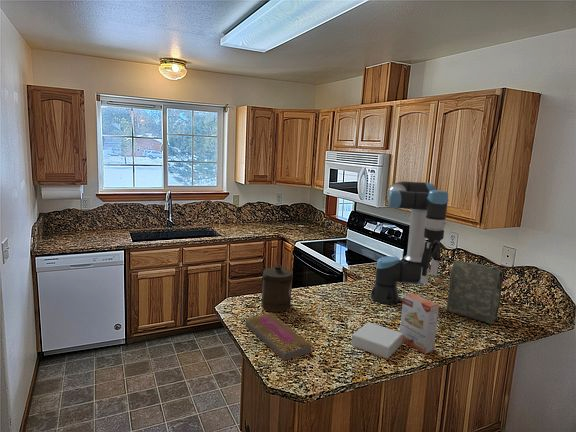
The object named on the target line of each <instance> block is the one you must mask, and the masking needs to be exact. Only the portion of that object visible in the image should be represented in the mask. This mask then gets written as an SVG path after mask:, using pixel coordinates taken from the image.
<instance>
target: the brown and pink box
mask: <svg viewBox="0 0 576 432" xmlns="http://www.w3.org/2000/svg"><path fill="white" fill-rule="evenodd" d="M243 320H245V326H246V327H247V328H248V329H249V330H251V332H253V334H254V335H256V336H257V337H258V338H259V339H260V340H261V341H262V342H263V343H264V344H266V345H267V346H268V347H269V348H270V349H271V350H272V351H273V352H275V353H276V355H278V356H279V357H280V358H281V359H282V360H283V361H286V360H287V361H288V360H290V359H294V358H296V357H301V356H304V355H306V354H310V353H312V348H313V347H315V344H313V343H311V341H309V340H307V339H306V338H305V337H303V336H302V334H300V333H298V332H297V331H296V330H294V329H293V328H292V327H291V326H289V325H288V324H286V323H285V322H284V321H282V320H281V318H278V317H277V316H276V315H275V314H274V313H272V311H269V312H268V313H263V314H260V315H259V314H257V315H254V316H251V317H243ZM289 350H290V351H289Z"/></svg>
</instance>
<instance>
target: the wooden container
mask: <svg viewBox="0 0 576 432" xmlns="http://www.w3.org/2000/svg"><path fill="white" fill-rule="evenodd" d="M292 279H293V271H291V270H290V269H287V268H284V267H282V265H281V264H277V263H276V264H275V265H274V267H268V268H265V269H264V270H263V273H262V286H261V287H262V289H261V308H262V309H264V310H266V311H267V312H271V313H272V312H273V313H274V312H275V313H280V312H281V313H282V312H285V311H288V310H289V309H290V308H291V304H292V283H293V282H292Z"/></svg>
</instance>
